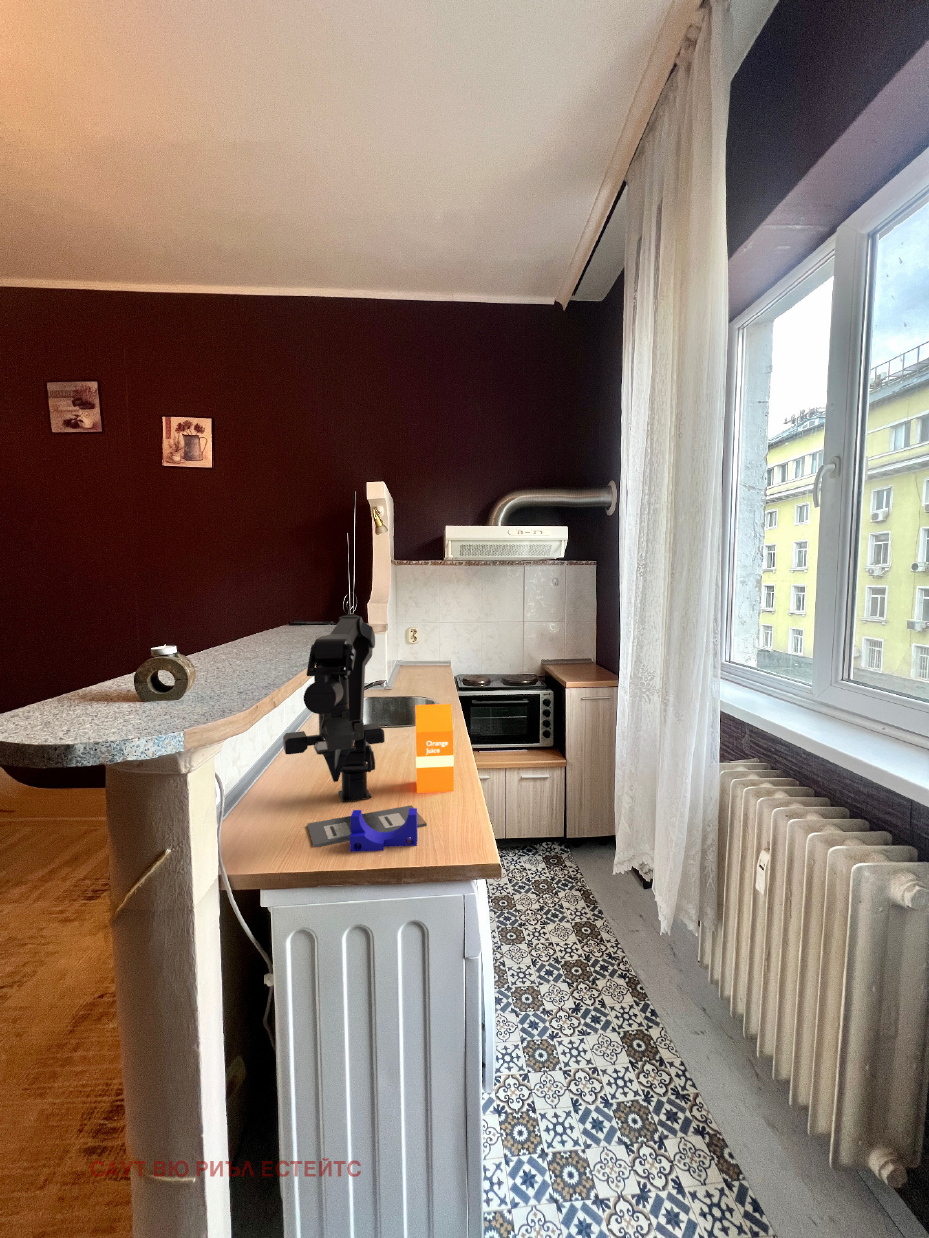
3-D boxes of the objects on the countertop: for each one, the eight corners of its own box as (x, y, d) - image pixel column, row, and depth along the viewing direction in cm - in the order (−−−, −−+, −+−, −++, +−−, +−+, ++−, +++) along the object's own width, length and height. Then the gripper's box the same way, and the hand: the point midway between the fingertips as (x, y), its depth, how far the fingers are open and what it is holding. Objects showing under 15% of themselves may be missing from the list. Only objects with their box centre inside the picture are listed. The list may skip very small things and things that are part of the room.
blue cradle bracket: (350, 852, 96) (349, 820, 96) (354, 841, 101) (353, 810, 100) (416, 850, 97) (415, 818, 96) (417, 839, 101) (416, 808, 101)
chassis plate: (307, 825, 107) (307, 822, 107) (411, 807, 116) (411, 804, 116) (313, 847, 98) (313, 843, 98) (426, 825, 107) (426, 822, 107)
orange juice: (416, 781, 132) (415, 701, 131) (451, 779, 133) (450, 700, 132) (416, 793, 124) (415, 708, 123) (454, 791, 125) (453, 707, 124)
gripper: (286, 715, 92) (289, 803, 93) (391, 705, 100) (392, 787, 100) (281, 703, 103) (284, 783, 103) (376, 695, 110) (378, 769, 111)
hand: (335, 781), depth 104 cm, fingers closed
